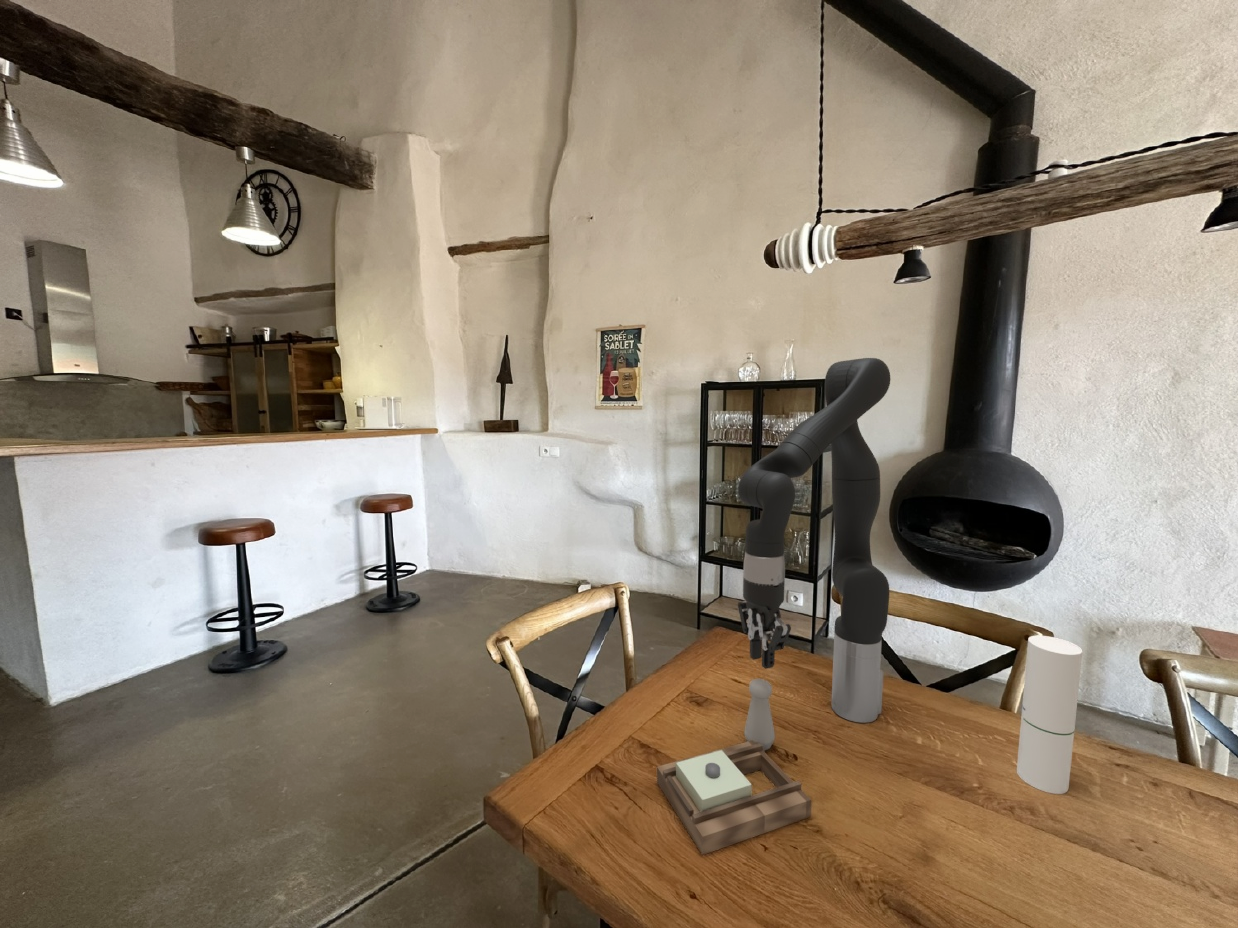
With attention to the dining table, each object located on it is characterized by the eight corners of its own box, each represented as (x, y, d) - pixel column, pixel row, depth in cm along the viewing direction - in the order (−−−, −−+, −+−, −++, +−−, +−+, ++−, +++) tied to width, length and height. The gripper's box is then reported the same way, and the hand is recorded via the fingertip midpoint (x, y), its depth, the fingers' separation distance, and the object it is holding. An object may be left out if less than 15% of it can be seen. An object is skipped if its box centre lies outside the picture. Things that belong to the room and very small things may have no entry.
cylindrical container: (1060, 771, 94) (1073, 639, 91) (1075, 798, 87) (1089, 658, 85) (1012, 760, 97) (1023, 632, 94) (1022, 786, 90) (1035, 649, 88)
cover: (721, 762, 92) (721, 744, 92) (751, 798, 84) (751, 778, 83) (675, 776, 89) (676, 757, 89) (702, 814, 81) (702, 793, 80)
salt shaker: (771, 736, 104) (773, 675, 103) (777, 755, 99) (779, 690, 97) (742, 734, 105) (743, 673, 104) (746, 753, 99) (747, 689, 98)
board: (752, 754, 99) (752, 735, 99) (810, 816, 84) (811, 793, 84) (656, 782, 92) (656, 761, 92) (702, 854, 77) (702, 830, 77)
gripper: (726, 567, 103) (724, 650, 105) (770, 590, 90) (768, 684, 92) (757, 562, 106) (756, 643, 108) (805, 585, 93) (802, 676, 95)
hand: (761, 662), depth 100 cm, fingers open, 3 cm apart
